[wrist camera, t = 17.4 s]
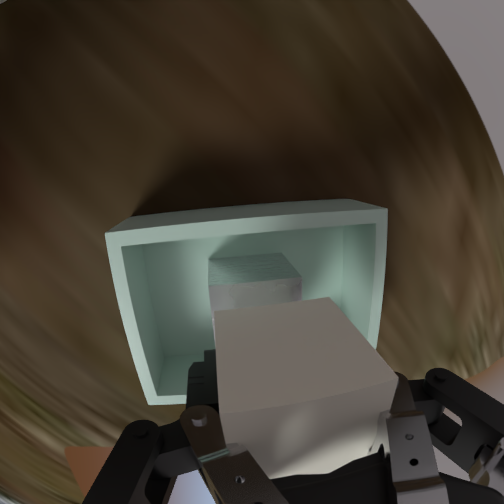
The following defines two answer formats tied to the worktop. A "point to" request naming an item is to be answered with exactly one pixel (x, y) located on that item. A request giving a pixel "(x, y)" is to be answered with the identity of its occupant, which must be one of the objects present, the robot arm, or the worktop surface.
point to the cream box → (299, 386)
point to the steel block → (252, 282)
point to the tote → (231, 245)
